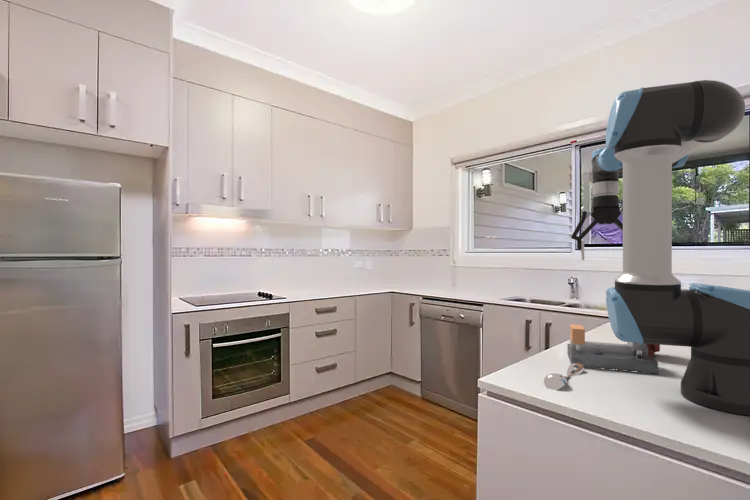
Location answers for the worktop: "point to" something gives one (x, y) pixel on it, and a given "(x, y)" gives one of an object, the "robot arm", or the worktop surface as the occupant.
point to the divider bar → (615, 348)
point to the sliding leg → (577, 335)
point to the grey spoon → (562, 377)
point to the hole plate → (613, 360)
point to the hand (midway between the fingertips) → (605, 260)
